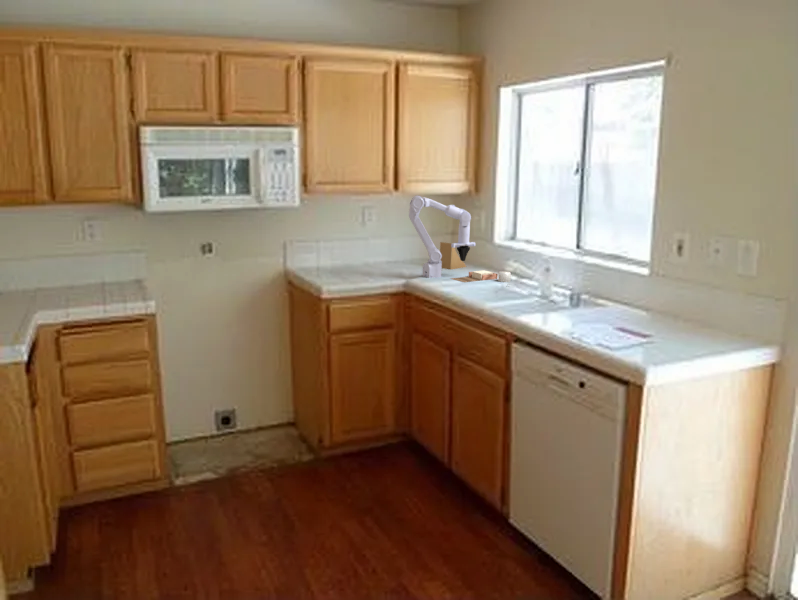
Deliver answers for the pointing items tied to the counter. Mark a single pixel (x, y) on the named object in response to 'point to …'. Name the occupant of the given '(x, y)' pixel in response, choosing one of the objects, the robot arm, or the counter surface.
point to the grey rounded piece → (504, 276)
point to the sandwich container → (450, 257)
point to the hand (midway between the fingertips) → (462, 260)
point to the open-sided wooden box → (471, 279)
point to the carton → (480, 274)
